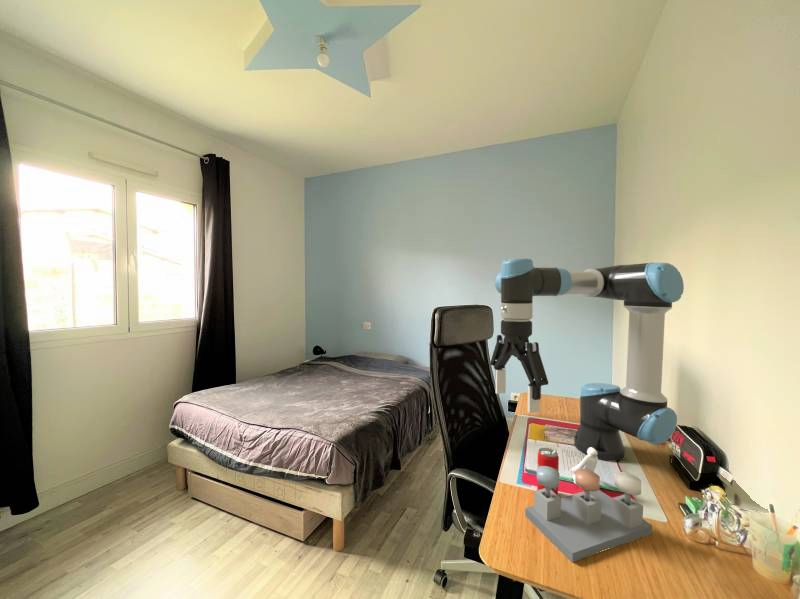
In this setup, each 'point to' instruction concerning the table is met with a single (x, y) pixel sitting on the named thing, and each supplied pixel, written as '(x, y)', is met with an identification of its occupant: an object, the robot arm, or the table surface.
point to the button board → (587, 522)
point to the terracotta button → (587, 482)
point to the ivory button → (628, 485)
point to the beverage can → (548, 463)
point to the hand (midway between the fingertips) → (515, 401)
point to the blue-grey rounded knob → (548, 478)
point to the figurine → (587, 462)
